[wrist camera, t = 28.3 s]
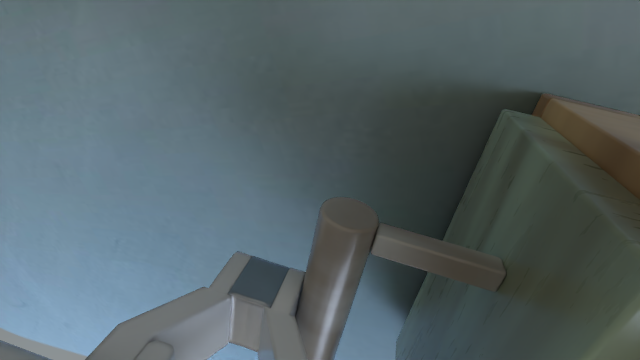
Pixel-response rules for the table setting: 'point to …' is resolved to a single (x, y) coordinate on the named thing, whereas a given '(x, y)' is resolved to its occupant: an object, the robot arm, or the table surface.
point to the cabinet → (598, 135)
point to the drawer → (497, 260)
